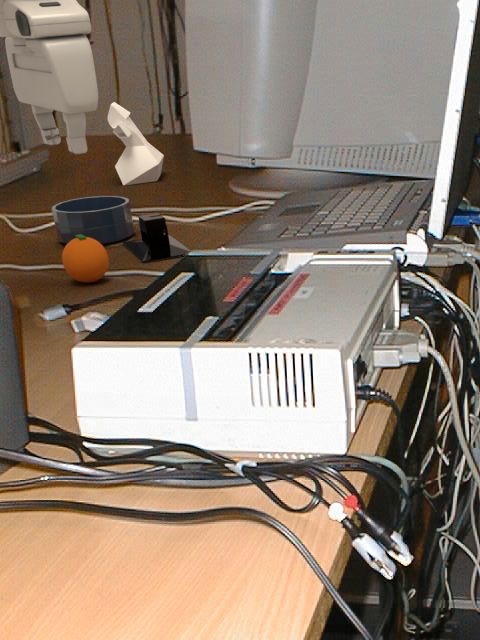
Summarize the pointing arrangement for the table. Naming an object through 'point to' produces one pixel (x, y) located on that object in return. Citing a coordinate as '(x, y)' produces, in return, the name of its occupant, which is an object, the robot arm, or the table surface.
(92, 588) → the table surface
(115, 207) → the bowl
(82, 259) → the toy tangerine
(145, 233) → the black winged block
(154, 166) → the white angular stand
